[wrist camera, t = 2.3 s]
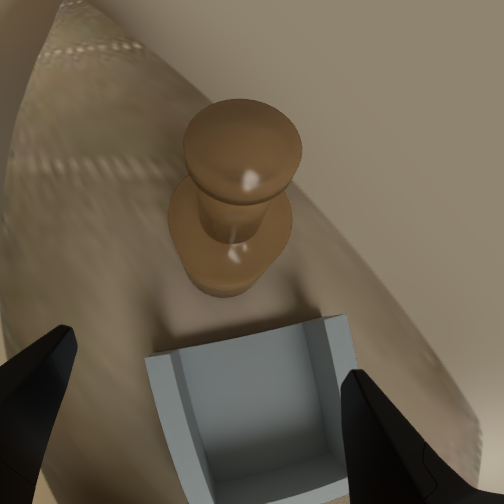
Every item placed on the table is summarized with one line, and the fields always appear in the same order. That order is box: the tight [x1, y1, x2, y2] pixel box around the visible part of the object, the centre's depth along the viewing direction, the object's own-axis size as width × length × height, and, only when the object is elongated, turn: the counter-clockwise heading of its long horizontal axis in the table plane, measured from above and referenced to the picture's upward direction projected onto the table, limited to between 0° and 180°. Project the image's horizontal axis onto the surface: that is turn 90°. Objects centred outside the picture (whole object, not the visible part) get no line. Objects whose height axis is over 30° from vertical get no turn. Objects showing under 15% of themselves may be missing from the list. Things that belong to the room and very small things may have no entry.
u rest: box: [144, 314, 358, 504], centre depth 18 cm, size 12×13×6 cm
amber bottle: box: [168, 99, 302, 298], centre depth 16 cm, size 6×6×15 cm
